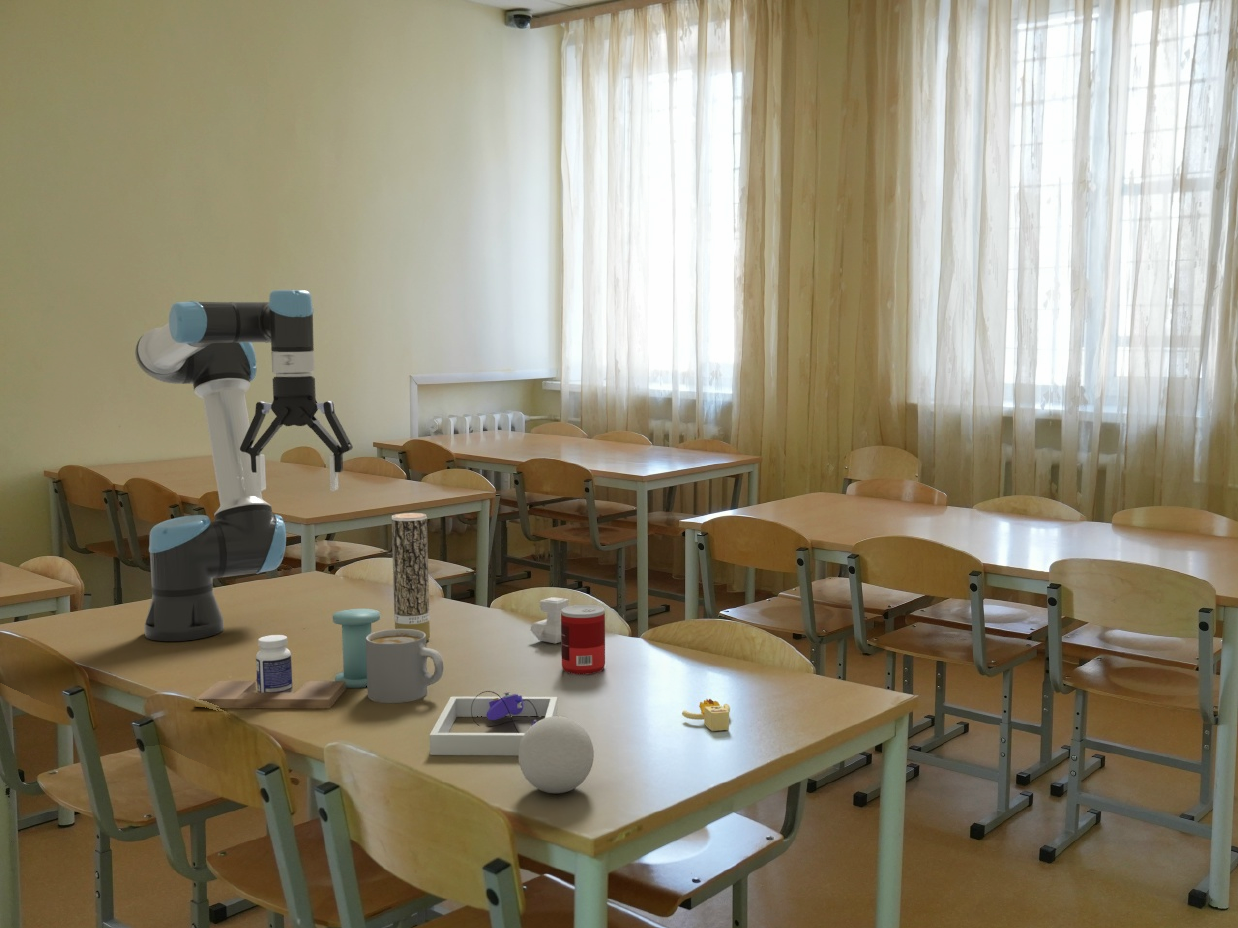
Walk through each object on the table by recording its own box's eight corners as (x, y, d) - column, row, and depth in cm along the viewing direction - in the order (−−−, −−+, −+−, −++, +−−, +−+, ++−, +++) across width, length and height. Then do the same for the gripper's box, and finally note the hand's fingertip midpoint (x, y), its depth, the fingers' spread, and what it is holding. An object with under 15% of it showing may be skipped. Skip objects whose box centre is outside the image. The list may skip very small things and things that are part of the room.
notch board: (196, 707, 196) (195, 698, 195) (218, 689, 206) (218, 680, 205) (329, 708, 195) (329, 699, 195) (345, 689, 205) (345, 681, 205)
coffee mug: (355, 697, 201) (353, 639, 199) (394, 681, 209) (392, 626, 208) (417, 709, 194) (415, 649, 193) (455, 693, 202) (454, 635, 201)
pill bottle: (300, 692, 203) (297, 635, 202) (277, 702, 198) (274, 643, 197) (273, 688, 206) (270, 632, 205) (250, 698, 201) (247, 640, 199)
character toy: (727, 693, 190) (744, 708, 183) (727, 713, 191) (744, 729, 183) (679, 697, 189) (694, 713, 181) (679, 717, 189) (694, 733, 181)
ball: (556, 811, 153) (555, 736, 152) (503, 792, 159) (502, 719, 158) (609, 789, 160) (608, 716, 159) (556, 771, 167) (555, 701, 166)
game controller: (467, 696, 189) (528, 679, 191) (479, 747, 188) (541, 730, 189) (466, 696, 179) (531, 678, 181) (479, 750, 178) (544, 732, 180)
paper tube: (433, 636, 239) (430, 513, 237) (425, 645, 233) (421, 518, 230) (400, 635, 240) (397, 512, 237) (390, 644, 233) (387, 518, 230)
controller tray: (430, 754, 173) (429, 734, 173) (451, 714, 191) (451, 696, 191) (547, 755, 173) (546, 735, 172) (557, 715, 191) (557, 696, 190)
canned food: (614, 667, 217) (613, 608, 215) (582, 677, 211) (582, 616, 210) (583, 660, 222) (583, 602, 221) (552, 669, 216) (551, 609, 215)
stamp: (555, 633, 241) (554, 592, 240) (581, 638, 237) (580, 597, 236) (526, 643, 234) (525, 601, 233) (552, 648, 230) (552, 605, 229)
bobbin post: (329, 687, 206) (327, 619, 204) (341, 674, 214) (339, 608, 212) (375, 687, 206) (373, 619, 204) (386, 674, 214) (384, 608, 212)
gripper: (218, 376, 216) (224, 493, 218) (356, 375, 215) (359, 492, 217) (233, 374, 223) (238, 487, 226) (366, 373, 222) (369, 487, 225)
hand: (298, 490), depth 221 cm, fingers open, 13 cm apart
